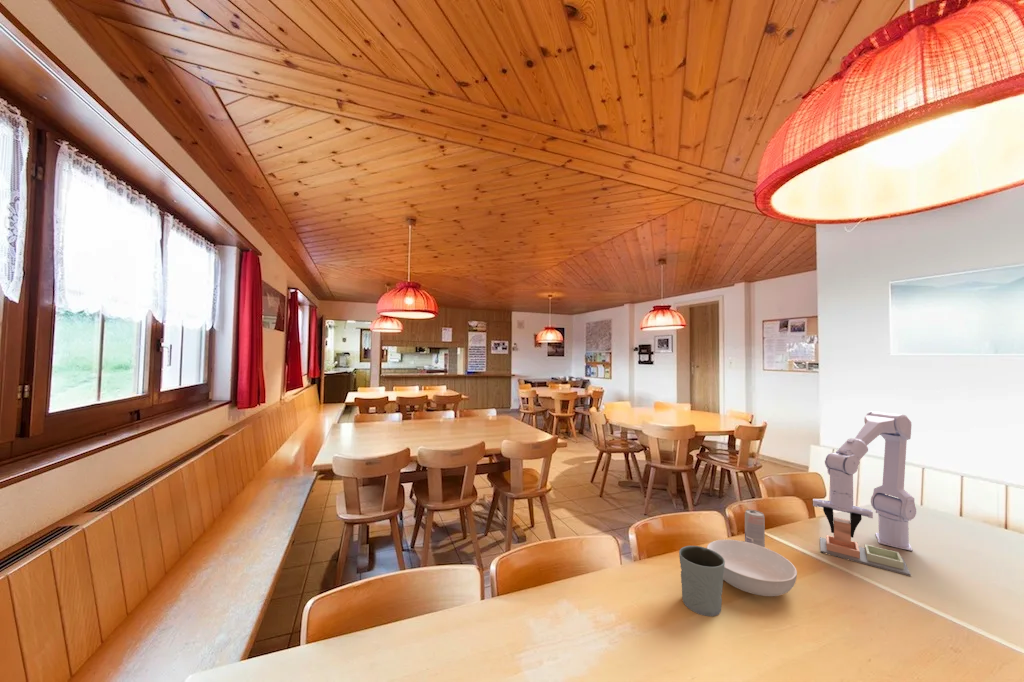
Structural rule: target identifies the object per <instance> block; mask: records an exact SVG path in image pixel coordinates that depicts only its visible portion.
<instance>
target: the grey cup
mask: <svg viewBox="0 0 1024 682" xmlns="http://www.w3.org/2000/svg"><path fill="white" fill-rule="evenodd" d="M678 553H679V555H678V557H679V564H680V579H681V581H680V583H681V597H682V602H683V604H684V605H685V607H687V609H689V610H690V611H692V612H693V613H695V614H698V615H701V616H705V617H716V616H719V615H720V614H721V612H722V604H723V603H722V602H723V599H722V594H723V587H724V586H723V585H724V580H723V573H724V565H725V560H724V558H723V557H722V556H721V555H720V554H718V553H717V552H715V551H713V550H710V549H708V548H707V547H705V546H699V545H686V546H683V547H681V548H680V549H679V551H678Z"/></svg>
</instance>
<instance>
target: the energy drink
mask: <svg viewBox="0 0 1024 682" xmlns="http://www.w3.org/2000/svg"><path fill="white" fill-rule="evenodd" d="M765 523H766V522H765V514H764V513H763V512H761V511H759V510H756V509H746V510H745V512H744V542H749V543H753V544H756V545H759V546H762V547H765V548H766V544H765V543H766V542H765V541H766V540H765V537H766V533H765V532H766V531H765V529H766V526H765Z"/></svg>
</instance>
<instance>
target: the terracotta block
mask: <svg viewBox="0 0 1024 682" xmlns="http://www.w3.org/2000/svg"><path fill="white" fill-rule="evenodd" d="M833 525H834V533H833V537H834V540H838V541H842V542H846V543H850V544H851V541H852V537H851V524H850V520H849V519H846V518H841V517H838V516H837V517H836V516H833Z"/></svg>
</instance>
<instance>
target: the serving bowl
mask: <svg viewBox="0 0 1024 682" xmlns="http://www.w3.org/2000/svg"><path fill="white" fill-rule="evenodd" d="M706 548H708V549H710V550H713V551H715V552H717V553H718V554H720V555H721V556H722V557H723V558H724V560H725V565H724V573H723V582H724V581H725V582H726V583H727V584H729V585H731V586H732V587H734V588H736V589H739V590H740V591H743V592H745V593H749V594H752V595H756V596H763V597H777V596H781V595H785V594H786V593H788V592H790V591H791V590H792V589H793V587H795V584H796V581H797V576H798V570H797V568H796V566H795V565H794V564H793V563H792V562H791V561H790V560H789V559H788V558H786V557H785V556H783V555H782V554H780V553H778V552H776V551H774V550H772V549H770V548H767V547H766V546H765V547H762V546H759V545H756V544H753V543H749V542H745V540H744V541H743V540H736V539H726V538H725V539H717V540H714V541H710V542H709V543H708V544H707V545H706Z"/></svg>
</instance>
